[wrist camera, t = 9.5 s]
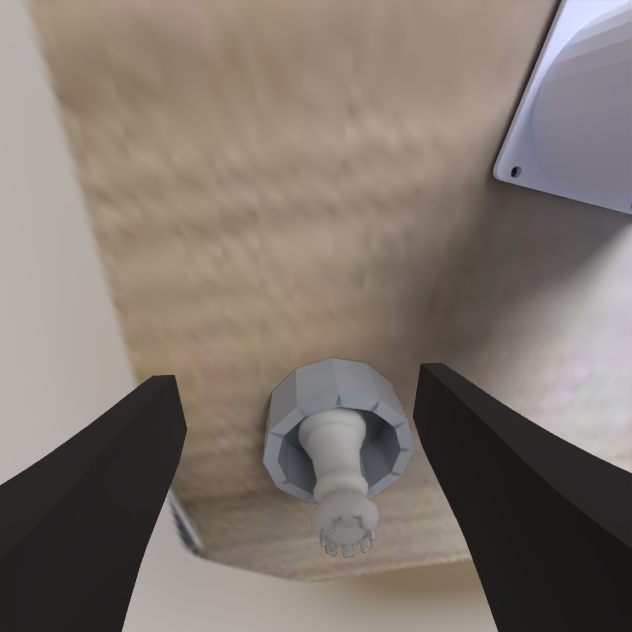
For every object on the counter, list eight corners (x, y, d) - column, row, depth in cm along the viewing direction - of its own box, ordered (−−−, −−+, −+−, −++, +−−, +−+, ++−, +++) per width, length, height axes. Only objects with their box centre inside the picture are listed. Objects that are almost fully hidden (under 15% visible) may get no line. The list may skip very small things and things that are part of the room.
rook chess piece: (337, 375, 21) (362, 492, 14) (375, 417, 23) (416, 541, 15) (281, 412, 22) (277, 539, 15) (322, 450, 23) (336, 581, 16)
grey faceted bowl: (413, 370, 22) (434, 407, 18) (374, 464, 25) (386, 509, 22) (280, 350, 20) (279, 385, 17) (259, 452, 24) (254, 498, 21)
